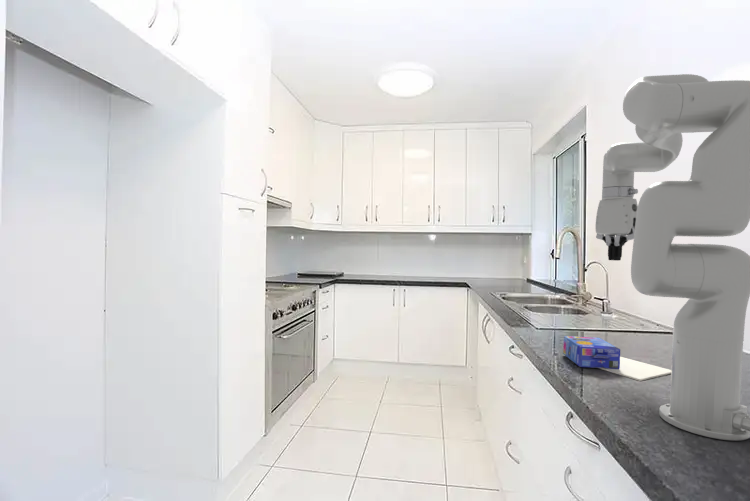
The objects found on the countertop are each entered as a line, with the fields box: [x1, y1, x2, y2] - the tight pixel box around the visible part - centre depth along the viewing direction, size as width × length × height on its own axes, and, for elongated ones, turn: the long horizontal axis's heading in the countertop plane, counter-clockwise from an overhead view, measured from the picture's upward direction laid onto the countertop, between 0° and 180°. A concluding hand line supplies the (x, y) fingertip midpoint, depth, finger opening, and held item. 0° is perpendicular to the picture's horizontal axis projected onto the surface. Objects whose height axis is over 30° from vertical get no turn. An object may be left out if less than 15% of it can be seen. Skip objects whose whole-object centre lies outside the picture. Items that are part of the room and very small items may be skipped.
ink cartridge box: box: [562, 335, 621, 369], centre depth 106 cm, size 10×6×14 cm
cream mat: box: [598, 356, 671, 382], centre depth 104 cm, size 16×15×1 cm
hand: (614, 260), depth 114 cm, fingers closed
